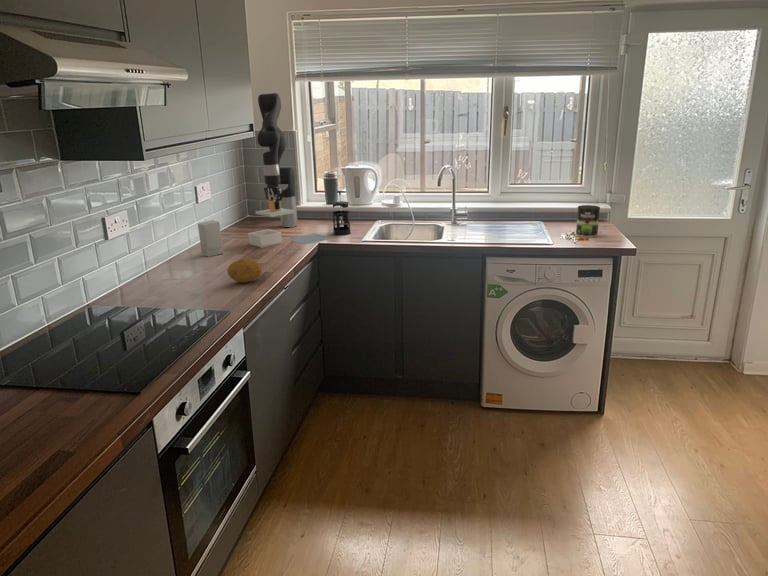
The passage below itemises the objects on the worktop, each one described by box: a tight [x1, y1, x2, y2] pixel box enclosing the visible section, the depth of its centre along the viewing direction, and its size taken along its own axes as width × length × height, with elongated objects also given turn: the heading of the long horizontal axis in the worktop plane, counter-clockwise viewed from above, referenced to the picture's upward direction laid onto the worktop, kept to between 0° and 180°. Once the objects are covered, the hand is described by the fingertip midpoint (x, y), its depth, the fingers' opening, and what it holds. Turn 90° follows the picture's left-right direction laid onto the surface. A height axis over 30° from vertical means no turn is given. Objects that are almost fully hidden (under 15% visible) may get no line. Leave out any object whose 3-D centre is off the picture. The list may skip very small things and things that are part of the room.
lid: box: [255, 200, 295, 218], centre depth 284 cm, size 14×14×6 cm
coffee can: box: [575, 204, 601, 238], centre depth 283 cm, size 10×10×14 cm
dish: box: [247, 229, 283, 249], centre depth 287 cm, size 12×12×6 cm
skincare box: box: [197, 220, 224, 258], centre depth 269 cm, size 8×7×16 cm
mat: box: [285, 233, 334, 245], centre depth 296 cm, size 18×18×1 cm
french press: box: [331, 190, 352, 237], centre depth 302 cm, size 12×9×23 cm
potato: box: [227, 258, 262, 284], centre depth 225 cm, size 10×13×9 cm
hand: (275, 208), depth 285 cm, fingers closed on lid, 4 cm apart
